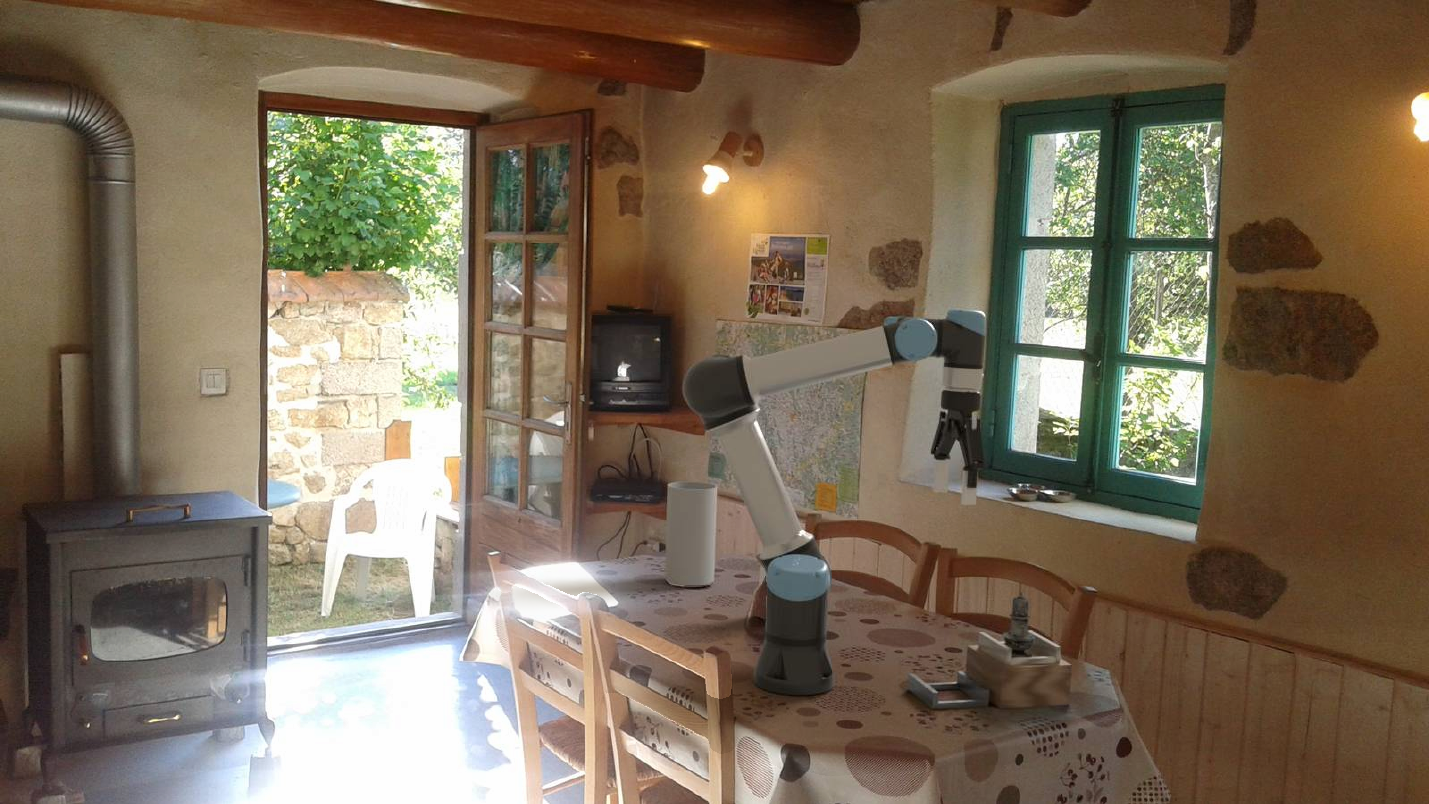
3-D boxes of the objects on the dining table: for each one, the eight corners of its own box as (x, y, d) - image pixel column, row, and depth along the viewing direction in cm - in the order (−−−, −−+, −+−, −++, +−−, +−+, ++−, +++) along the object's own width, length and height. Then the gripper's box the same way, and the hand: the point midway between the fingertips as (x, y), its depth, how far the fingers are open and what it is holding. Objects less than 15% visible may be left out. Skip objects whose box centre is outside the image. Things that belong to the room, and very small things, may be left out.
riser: (999, 708, 216) (1003, 651, 215) (965, 683, 229) (968, 630, 228) (1069, 704, 219) (1072, 648, 218) (1031, 680, 233) (1034, 627, 232)
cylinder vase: (723, 582, 305) (726, 485, 303) (696, 591, 294) (700, 491, 292) (682, 574, 311) (685, 480, 309) (654, 583, 301) (658, 485, 299)
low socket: (932, 709, 214) (933, 692, 214) (907, 689, 225) (908, 673, 224) (988, 706, 217) (989, 690, 217) (961, 686, 227) (962, 671, 227)
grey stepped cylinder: (1034, 660, 220) (1038, 596, 219) (1002, 657, 221) (1005, 594, 220) (1033, 651, 226) (1036, 589, 225) (1001, 649, 227) (1004, 587, 226)
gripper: (1008, 396, 220) (999, 510, 221) (953, 385, 244) (946, 487, 246) (970, 395, 218) (962, 509, 220) (919, 383, 242) (912, 487, 244)
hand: (953, 498), depth 233 cm, fingers open, 13 cm apart
